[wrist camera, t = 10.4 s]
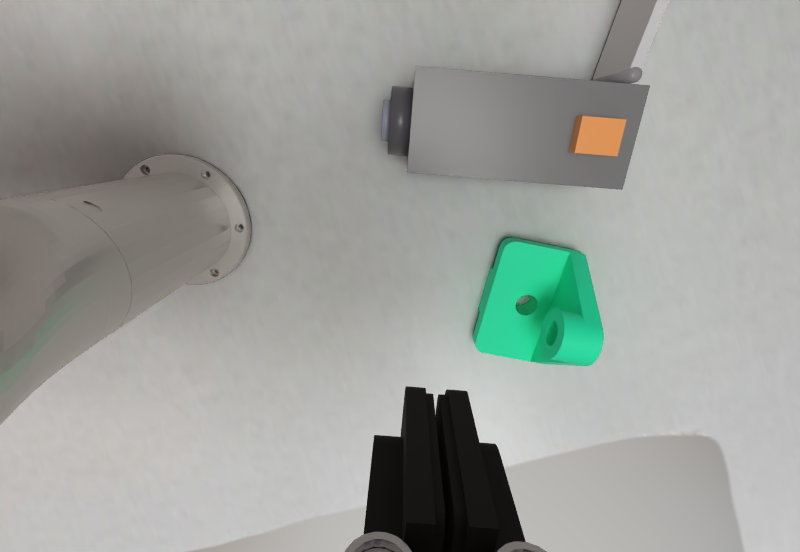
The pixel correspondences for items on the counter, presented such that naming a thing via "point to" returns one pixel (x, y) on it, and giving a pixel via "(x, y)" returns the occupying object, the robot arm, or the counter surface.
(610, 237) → the counter surface
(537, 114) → the camera body
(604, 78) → the door
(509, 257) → the camera mount
